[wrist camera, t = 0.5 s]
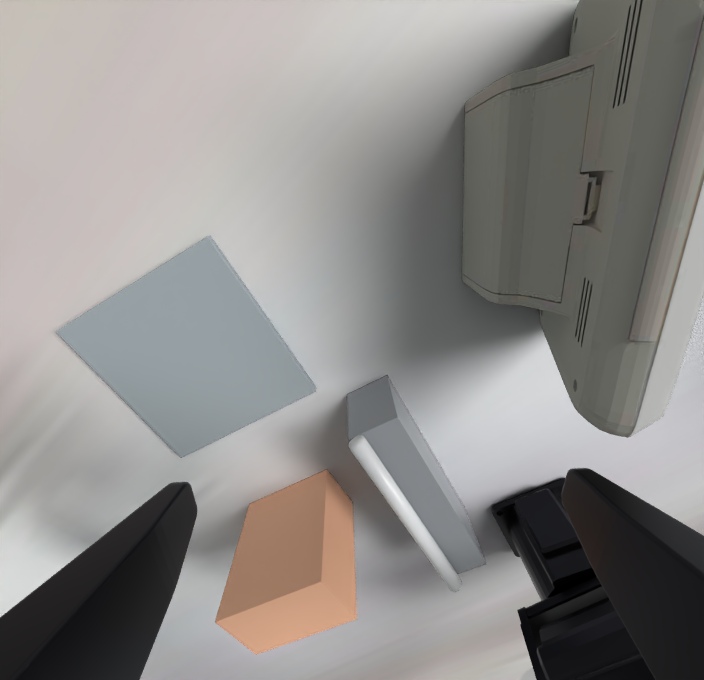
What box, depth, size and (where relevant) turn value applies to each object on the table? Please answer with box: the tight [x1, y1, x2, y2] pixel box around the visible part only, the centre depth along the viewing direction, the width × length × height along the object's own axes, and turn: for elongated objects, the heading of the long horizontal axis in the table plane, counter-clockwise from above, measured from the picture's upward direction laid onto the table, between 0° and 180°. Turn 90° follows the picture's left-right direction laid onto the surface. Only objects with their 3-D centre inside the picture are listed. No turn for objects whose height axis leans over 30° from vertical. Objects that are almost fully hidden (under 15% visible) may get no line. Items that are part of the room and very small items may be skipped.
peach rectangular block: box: [215, 469, 357, 655], centre depth 23 cm, size 4×7×8 cm, turn 119°
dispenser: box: [347, 375, 486, 592], centre depth 23 cm, size 14×3×6 cm, turn 29°
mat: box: [56, 236, 316, 458], centre depth 21 cm, size 11×11×1 cm
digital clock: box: [462, 0, 704, 437], centre depth 13 cm, size 16×9×11 cm, turn 175°
